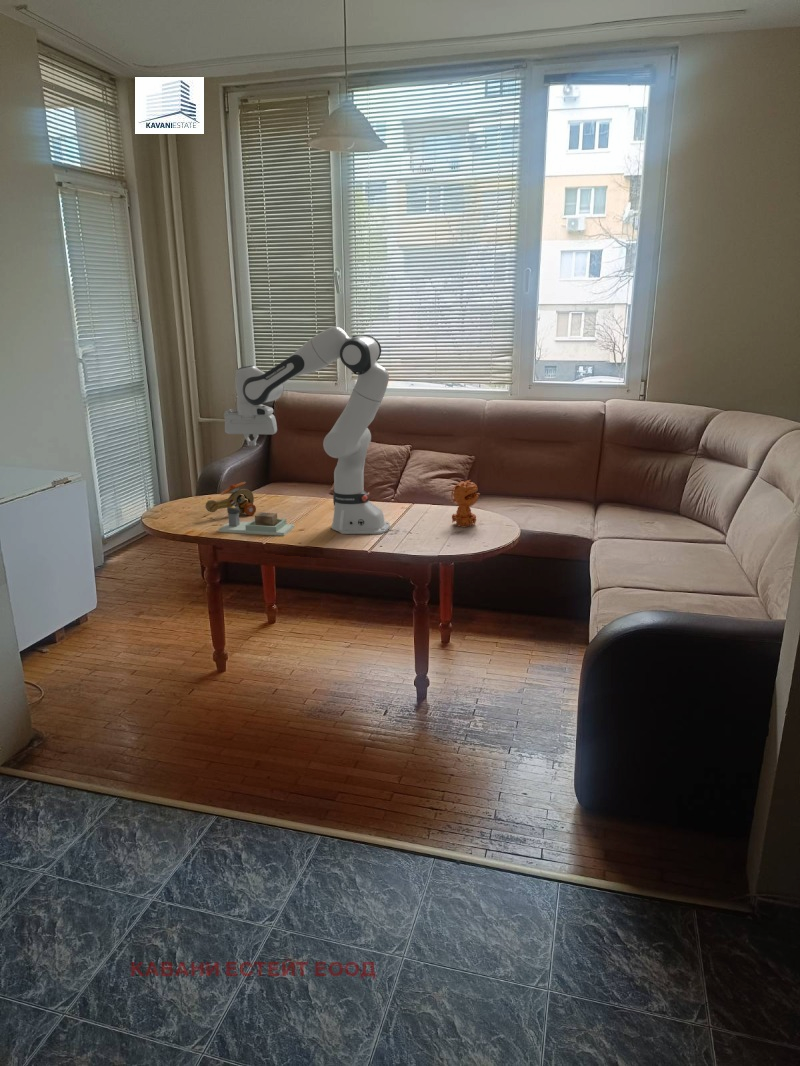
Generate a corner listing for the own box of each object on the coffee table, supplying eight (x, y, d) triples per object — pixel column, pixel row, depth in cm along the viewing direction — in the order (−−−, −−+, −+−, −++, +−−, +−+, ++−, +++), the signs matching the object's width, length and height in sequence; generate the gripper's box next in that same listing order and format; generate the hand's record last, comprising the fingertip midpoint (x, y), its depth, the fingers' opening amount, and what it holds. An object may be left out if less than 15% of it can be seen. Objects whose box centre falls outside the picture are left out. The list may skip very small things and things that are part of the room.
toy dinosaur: (479, 529, 272) (480, 482, 267) (450, 528, 273) (451, 482, 268) (478, 521, 283) (479, 476, 278) (450, 520, 284) (451, 476, 278)
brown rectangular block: (277, 525, 273) (277, 513, 271) (273, 529, 268) (272, 516, 267) (260, 524, 274) (259, 512, 273) (255, 528, 270) (254, 515, 268)
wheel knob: (241, 519, 275) (240, 505, 273) (237, 522, 270) (236, 508, 269) (231, 518, 275) (230, 505, 274) (226, 521, 271) (225, 508, 270)
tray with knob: (294, 527, 275) (293, 511, 273) (284, 535, 264) (283, 519, 263) (230, 523, 280) (229, 508, 278) (218, 531, 269) (217, 516, 268)
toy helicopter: (259, 514, 293) (256, 481, 289) (212, 523, 280) (209, 489, 276) (249, 510, 299) (246, 478, 295) (203, 519, 286) (200, 485, 282)
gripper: (220, 410, 271) (223, 446, 275) (271, 410, 267) (274, 447, 271) (226, 408, 277) (229, 443, 280) (277, 408, 273) (279, 444, 277)
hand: (252, 445), depth 276 cm, fingers closed
